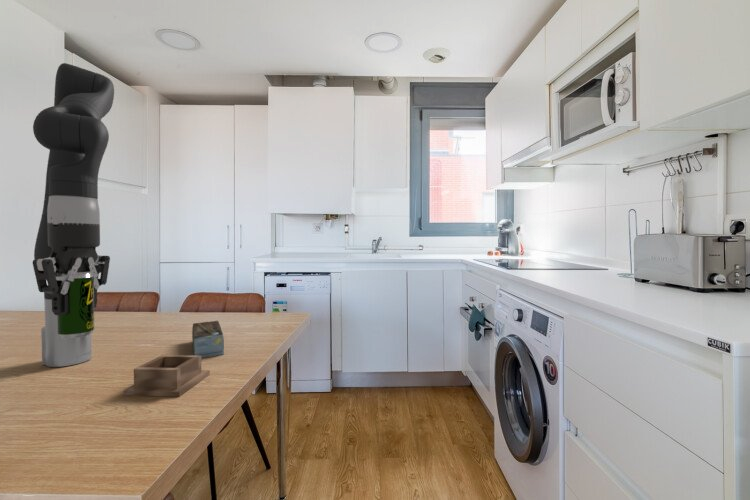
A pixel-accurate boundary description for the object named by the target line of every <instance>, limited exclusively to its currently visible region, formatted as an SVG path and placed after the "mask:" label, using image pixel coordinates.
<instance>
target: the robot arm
mask: <svg viewBox="0 0 750 500" xmlns="http://www.w3.org/2000/svg"><path fill="white" fill-rule="evenodd" d="M54 80H55V82H54V83H55V84H54V99H53V100H54V101H53V102H54V103H53V106H49V107H47V108H44V109H42V110H41V111H40V112H39V113H38V114H37V115H36V117H35V119H34V121H33V126H32V132H33V134H34V138H35V139H36V141H37V142H38V143H39V144H40V145H41V146H42V147H44V148H46V149H48V150H49V153H48V159H47V166H46V173H45V187H44V188H45V190H44V200H43V208H42V214H41V218H40V222H39V227H38V231H37V235H36V239H35V240H36V241H35V243H34V244H35V245H34V252H33V253H34V254H33V257H34V259H33V260H32V267H33V271H34V275H35V280H36V284H37V289H38V292H40V293H43V297H44V300H43V302H44V326H43V327H41V332H40V333H41V336H40V337H41V364H42V365H45V366H46V367H49V368H58V367H59V368H60V367H61V368H62V367H68V366H73V365H78V364H82V363H85V362H86V361H89V360H91V359H92V358H93V357H92V356H93V355H92V354H93V353H92V334H90V335H87V336H82V337H76V338H60V337H59V335H58V325H57V315H67V314H68V313H69V305H68V294H66V293H67V292H68V289H69V286H70V283H71V282H73V281H74V278H75V276H76V273H77V272H87V271H88V272H90V271H92V275H93V276H94V309H96V307H97V304H98V289H99V288H100V286H106V284H107V281H108V275H109V268H110V262H111V257H110V256H109V255H100V254H99V255H98V253H97V250H96V248H98V247H100V245H101V222H100V221H101V218H100V217H101V216H100V215H101V214H100V206H99V200H98V199H99V198H98V197H99V196H98V195H99V191H98V190H99V189H98V183H99V182H98V181H99V172H100V169H101V168H100V167H101V164H102V160H103V157H104V154H105V153H106V150H107V147H108V143H109V141H110V138H109V137H110V134H109V130H108V128H107V126H106V125H105V123H104V122H103V121H102V118H104V117H105V116H106V115H107V114H108V113H109V112H110V111H111V109H112V107H113V104H114V99H115V98H114V97H115V86H114V83H113V81H112V80H111V79H110V78H109V77H107V76H105V75H103V74H100V73H98V72H94V71H91V70H88V69H85V68H82V67H80V66H78V65H77V66H76V65H74V64H70V63H66V62H63V63H61V64H59V66H58V67H57V71H56V74H55V79H54ZM59 273H60V274H61V275H63V274H65V275H66V276H65V277H59ZM99 274H100V277H99ZM61 281H62V284H61V287H59V282H61Z"/></svg>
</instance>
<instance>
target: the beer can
mask: <svg viewBox="0 0 750 500" xmlns="http://www.w3.org/2000/svg"><path fill="white" fill-rule="evenodd" d="M65 276H66V275H65V274H63V275H61V274H60V273H59V277H65ZM61 284H62V281H61V282H59V287H61ZM66 294H68V305H69V313H68V314H67V315H57V325H58V335H59V337H60V338H76V337H82V336H87V335H90V334H91V335H92V334H93V332H95V308H94V276H93V275H92V271H90V272H88V271H87V272H77V273H76V276H75V278H74V281H73V282H71V283H70V286H69V289H68V292H67V293H66Z"/></svg>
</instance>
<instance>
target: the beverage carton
mask: <svg viewBox="0 0 750 500" xmlns="http://www.w3.org/2000/svg"><path fill="white" fill-rule="evenodd" d="M191 335H192V336H191V337H192V348H193V353H194V354H193V355H196V356H201V359H202V358H208V357H215V356H222V355H224V354H225V345H224V344H225V340H224V339H225V338H224V334H223V330H222V326H221V325H220V322H219V320H214V321H213V320H212V321H203V322H202V321H201V322H193V323H192V330H191Z"/></svg>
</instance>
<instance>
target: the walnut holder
mask: <svg viewBox="0 0 750 500" xmlns="http://www.w3.org/2000/svg"><path fill="white" fill-rule="evenodd" d="M210 375H211V371H210V370H209V369H208V370H207V369H206V370H202V358H201V356H196V355H194V354H193V355H191V354H190V355H187V354H181V355H180V354H178V355H177V354H162V355H159V356H157V357H156V358H154V359H152V360H149V361H147V362H145V363H143V364H142V365H139V366H138V367H135V368H134V369H133V384H132V385H131V386H128V387H127V388H125V389H124V390H123V394H122V395H123V396H139V397H140V396H141V397H142V396H143V397H146V396H147V397H177V398H178V397H181V396H183V395H184V394H186V392H188V391H190V390H191V389H192V388H193V387H195V386H197V384H200V383H201V382H202V381H203V380H204V379H206V378H208V376H210Z"/></svg>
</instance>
